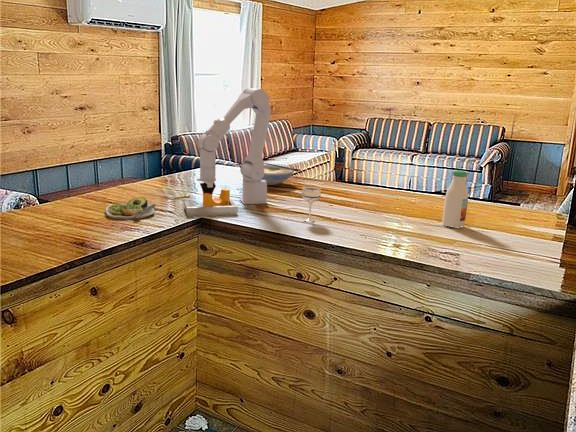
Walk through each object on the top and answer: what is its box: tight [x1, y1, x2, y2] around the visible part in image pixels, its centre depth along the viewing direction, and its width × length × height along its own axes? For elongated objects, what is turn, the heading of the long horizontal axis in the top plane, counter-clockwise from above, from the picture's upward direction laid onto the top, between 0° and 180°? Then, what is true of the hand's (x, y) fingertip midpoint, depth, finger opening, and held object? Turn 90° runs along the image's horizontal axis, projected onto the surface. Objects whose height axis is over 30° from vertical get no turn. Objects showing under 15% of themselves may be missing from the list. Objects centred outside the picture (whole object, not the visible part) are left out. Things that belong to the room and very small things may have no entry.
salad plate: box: [105, 196, 157, 221], centre depth 185 cm, size 19×18×5 cm
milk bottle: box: [442, 169, 469, 227], centre depth 186 cm, size 8×8×20 cm
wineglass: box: [301, 185, 322, 221], centre depth 186 cm, size 7×7×12 cm
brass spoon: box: [173, 194, 191, 200], centre depth 212 cm, size 6×2×1 cm, turn 126°
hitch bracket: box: [183, 199, 239, 217], centre depth 193 cm, size 18×12×3 cm, turn 106°
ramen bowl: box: [261, 162, 302, 186], centre depth 243 cm, size 25×23×8 cm
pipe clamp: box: [202, 188, 231, 207], centre depth 198 cm, size 12×4×6 cm, turn 146°
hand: (207, 202), depth 200 cm, fingers closed
